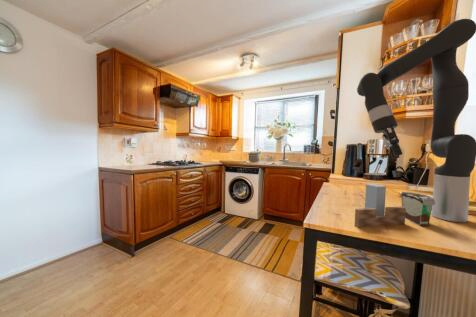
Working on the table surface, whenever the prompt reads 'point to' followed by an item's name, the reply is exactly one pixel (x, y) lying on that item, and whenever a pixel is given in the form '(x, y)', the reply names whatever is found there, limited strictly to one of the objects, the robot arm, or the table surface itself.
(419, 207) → the food container
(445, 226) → the table surface
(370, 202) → the slate block
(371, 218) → the walnut board
